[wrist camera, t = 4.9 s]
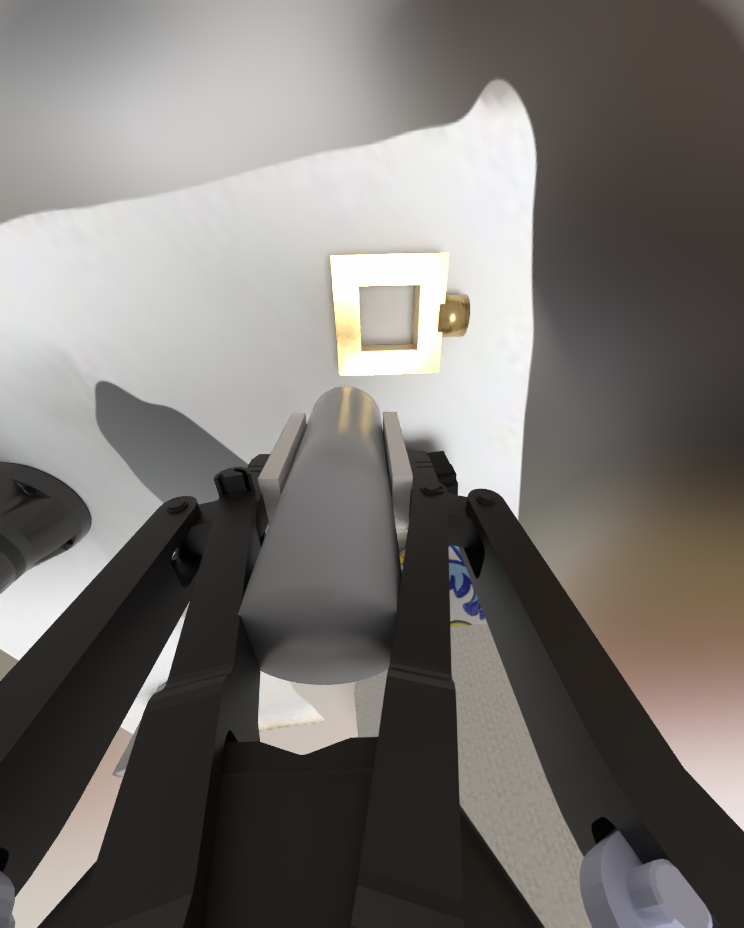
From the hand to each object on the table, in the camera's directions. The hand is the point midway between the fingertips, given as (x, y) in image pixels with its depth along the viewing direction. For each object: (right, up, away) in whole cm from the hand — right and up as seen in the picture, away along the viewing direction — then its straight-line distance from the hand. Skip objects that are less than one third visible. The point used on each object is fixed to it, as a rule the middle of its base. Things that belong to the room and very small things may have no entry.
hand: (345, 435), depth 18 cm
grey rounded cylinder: (0, +1, +2) cm, 2 cm away
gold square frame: (+4, +15, +16) cm, 23 cm away
